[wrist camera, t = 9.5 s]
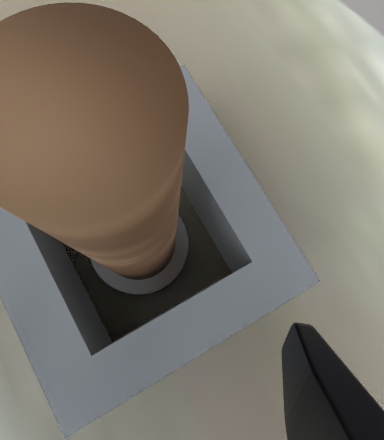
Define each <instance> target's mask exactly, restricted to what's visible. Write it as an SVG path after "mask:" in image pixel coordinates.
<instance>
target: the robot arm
mask: <svg viewBox="0 0 384 440" xmlns="http://www.w3.org/2000/svg"><path fill="white" fill-rule="evenodd" d="M282 372H283V394H284V413H285V425H286V433H287V439H288V440H384V410H383V409H382V408H381V407H380V405H379V404H378V403H377V402H376V401H375V400H374V398H373V397H372V396H371V395H370V394H369V392H368V391H367V390H366V389H365V388H364V386H363V385H362V384H361V383H360V382H359V380H358V379H357V378H356V377H355V376H354V375H353V373H352V372H351V371H350V370H349V369H348V367H347V366H346V365H345V364H344V363H343V361H342V360H341V359H340V358H339V357H338V356H337V354H336V353H335V352H334V351H333V350H332V348H331V347H330V346H329V345H328V344H327V342H326V341H325V340H324V339H323V338H322V336H321V335H320V334H319V333H318V332H317V331H316V329H315V328H314V327H313V326H311V325H309V324H303V323H293V324H292V326H291V328H290V330H289V333H288V335H287V337H286V340H285V342H284V344H283V348H282Z"/></svg>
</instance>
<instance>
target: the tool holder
mask: <svg viewBox="0 0 384 440" xmlns="http://www.w3.org/2000/svg"><path fill="white" fill-rule="evenodd" d="M180 68H181V70H182V73H183V76H184V79H185V82H186V87H187V92H188V99H189V115H188V125H187V135H186V144H185V154H184V163H183V173H182V182H181V187H182V189H183V190H184V192H185V194H186V195H187V197H188V199H189V201H190V202H191V204H192V206H193V207H194V209H195V211H196V212H197V214H198V216H199V218H200V219H201V221H202V223H203V224H204V226H205V228H206V230H207V231H208V233H209V235H210V236H211V238H212V240H213V242H214V243H215V245H216V247H217V248H218V250H219V252H220V254H221V255H222V257H223V259H224V260H225V262H226V264H227V265H228V267H229V269H230V271H231V273H229V274H227V275H226V276H224V277H222V278H221V279H219V280H217V281H215V282H214V283H212V284H210V285H209V286H207V287H205V288H203V289H202V290H200V291H198V292H197V293H195V294H193V295H191V296H190V297H188V298H186V299H185V300H183V301H181V302H179V303H178V304H176V305H174V306H173V307H171V308H169V309H167V310H166V311H164V312H162V313H161V314H159V315H157V316H155V317H154V318H152V319H150V320H149V321H147V322H145V323H143V324H142V325H140V326H138V327H137V328H135V329H133V330H131V331H130V332H128V333H126V334H125V335H123V336H121V337H119V338H118V339H116V340H114V341H113V342H112V341H111V339H110V337H109V335H108V333H107V331H106V329H105V327H104V325H103V323H102V321H101V319H100V317H99V315H98V313H97V311H96V309H95V307H94V305H93V303H92V301H91V299H90V297H89V295H88V293H87V291H86V289H85V287H84V285H83V283H82V281H81V279H80V277H79V275H78V273H77V271H76V269H75V267H74V265H73V263H72V261H71V259H70V257H69V256H68V254H67V252H66V250H65V248H64V246H63V244H62V242H61V241H59V240H57V239H56V238H54V237H52V236H50V235H48V234H47V233H45V232H43V231H41V230H40V229H38V228H36V227H34V226H33V225H31V224H29V223H27V222H26V221H24V220H22V219H20V218H19V217H17V216H15V215H13V214H12V213H10V212H8V211H6V210H5V209H3V208H1V207H0V298H1V300H2V302H3V304H4V306H5V308H6V311H7V313H8V315H9V317H10V319H11V322H12V324H13V326H14V328H15V330H16V332H17V335H18V337H19V339H20V341H21V343H22V346H23V348H24V350H25V352H26V354H27V356H28V359H29V361H30V363H31V365H32V367H33V370H34V372H35V374H36V376H37V378H38V380H39V383H40V385H41V387H42V389H43V391H44V393H45V396H46V398H47V400H48V402H49V404H50V407H51V409H52V411H53V413H54V415H55V417H56V420H57V422H58V424H59V426H60V428H61V431H62V433H63V435H64V437H65V438H66V437H68V436H70V435H71V434H73V433H74V432H76V431H78V430H79V429H81V428H83V427H84V426H86V425H87V424H89V423H91V422H92V421H94V420H96V419H97V418H99V417H100V416H102V415H104V414H105V413H107V412H108V411H110V410H112V409H113V408H115V407H117V406H118V405H120V404H121V403H123V402H125V401H126V400H128V399H130V398H131V397H133V396H134V395H136V394H138V393H139V392H141V391H142V390H144V389H146V388H147V387H149V386H151V385H152V384H154V383H155V382H157V381H159V380H160V379H162V378H164V377H165V376H167V375H168V374H170V373H172V372H173V371H175V370H176V369H178V368H180V367H181V366H183V365H185V364H186V363H188V362H189V361H191V360H193V359H194V358H196V357H198V356H199V355H201V354H202V353H204V352H206V351H207V350H209V349H210V348H212V347H214V346H215V345H217V344H219V343H220V342H222V341H223V340H225V339H227V338H228V337H230V336H232V335H233V334H235V333H236V332H238V331H240V330H241V329H243V328H244V327H246V326H248V325H249V324H251V323H253V322H254V321H256V320H257V319H259V318H261V317H262V316H264V315H266V314H267V313H269V312H270V311H272V310H274V309H275V308H277V307H278V306H280V305H282V304H283V303H285V302H287V301H288V300H290V299H291V298H293V297H295V296H296V295H298V294H300V293H301V292H303V291H304V290H306V289H308V288H309V287H311V286H312V285H314V284H316V283H317V282H319V281H320V280H319V278H318V277H317V275H316V273H315V272H314V270H313V269H312V267H311V266H310V264H309V262H308V261H307V259H306V258H305V256H304V254H303V253H302V251H301V250H300V248H299V246H298V245H297V243H296V242H295V240H294V238H293V237H292V235H291V234H290V232H289V231H288V229H287V227H286V226H285V224H284V223H283V221H282V219H281V218H280V216H279V215H278V213H277V211H276V210H275V208H274V207H273V205H272V203H271V202H270V200H269V199H268V197H267V195H266V194H265V192H264V191H263V189H262V188H261V186H260V184H259V183H258V181H257V180H256V178H255V176H254V175H253V173H252V172H251V170H250V168H249V167H248V165H247V164H246V162H245V160H244V159H243V157H242V156H241V154H240V153H239V151H238V149H237V148H236V146H235V145H234V143H233V141H232V140H231V138H230V137H229V135H228V133H227V132H226V130H225V129H224V127H223V125H222V124H221V122H220V121H219V119H218V118H217V116H216V114H215V113H214V111H213V110H212V108H211V106H210V105H209V103H208V102H207V100H206V98H205V97H204V95H203V94H202V92H201V90H200V89H199V87H198V86H197V84H196V83H195V81H194V79H193V78H192V76H191V75H190V73H189V71H188V70H187V68H186V67H185V65H184V66H181V67H180Z"/></svg>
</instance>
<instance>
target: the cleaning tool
mask: <svg viewBox="0 0 384 440" xmlns="http://www.w3.org/2000/svg"><path fill="white" fill-rule="evenodd" d="M188 115H189V99H188V92H187V87H186V82H185V79H184V76H183V73H182V70H181V68H180V66H179V64H178V62H177V60H176V58H175V57H174V55H173V54H172V52H171V51H170V50H169V48H168V47H167V46H166V44H165V43H164V42H163V41H162V40H161V39H160V38H159V37H158V36H157V35H156V34H155V33H154V32H152V31H151V30H150V29H149V28H148V27H146V26H145V25H143V24H142V23H140V22H139V21H137V20H136V19H134V18H132V17H130V16H128V15H126V14H124V13H121V12H118V11H116V10H113V9H110V8H106V7H102V6H98V5H93V4H85V3H56V4H48V5H43V6H38V7H34V8H31V9H27V10H24V11H21V12H19V13H17V14H14V15H12V16H10V17H8V18H6V19H4V20H2V21H1V22H0V207H1V208H3V209H5V210H6V211H8V212H10V213H12V214H13V215H15V216H17V217H19V218H20V219H22V220H24V221H26V222H27V223H29V224H31V225H33V226H34V227H36V228H38V229H40V230H41V231H43V232H45V233H47V234H48V235H50V236H52V237H54V238H56V239H57V240H59V241H61V242H63V243H64V244H66V245H68V246H70V247H71V248H73V249H75V250H77V251H78V252H80V253H82V254H84V255H85V256H87V257H89V258H90V260H91V263H92V265H93V267H94V269H95V271H96V273H97V274H98V275H99V276H100V278H101V279H102V280H103V281H104V282H105V283H107V284H108V285H110V286H111V287H113V288H115V289H116V290H119V291H122V292H125V293H130V294H136V295H145V294H151V293H154V292H157V291H159V290H161V289H163V288H165V287H166V286H168V285H169V284H170V283H172V282H173V281H174V280H175V278H176V277H177V276H178V275H179V273H180V272H181V270H182V268H183V265H184V263H185V260H186V257H187V253H188V235H187V231H186V227H185V225H184V223H183V221H182V219H181V218H180V216H179V215H178V211H179V202H180V192H181V182H182V173H183V163H184V154H185V144H186V135H187V125H188Z"/></svg>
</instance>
